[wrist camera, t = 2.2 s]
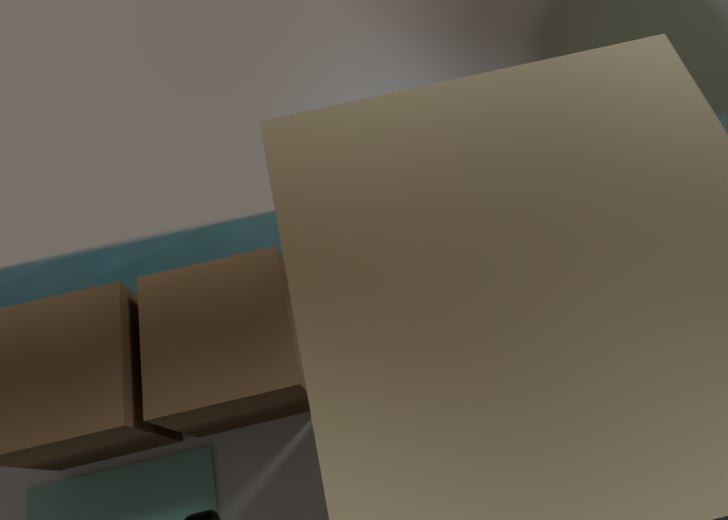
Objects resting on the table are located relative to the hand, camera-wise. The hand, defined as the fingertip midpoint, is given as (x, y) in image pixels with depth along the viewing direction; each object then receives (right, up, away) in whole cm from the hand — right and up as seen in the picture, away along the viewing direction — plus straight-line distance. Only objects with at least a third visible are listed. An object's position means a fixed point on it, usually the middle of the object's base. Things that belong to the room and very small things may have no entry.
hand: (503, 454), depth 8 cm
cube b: (-6, 0, +10) cm, 11 cm away
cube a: (-10, -1, +9) cm, 14 cm away
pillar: (0, -2, +8) cm, 9 cm away
